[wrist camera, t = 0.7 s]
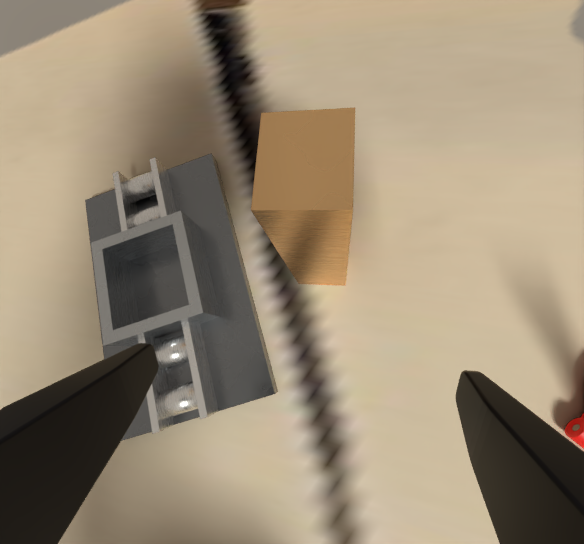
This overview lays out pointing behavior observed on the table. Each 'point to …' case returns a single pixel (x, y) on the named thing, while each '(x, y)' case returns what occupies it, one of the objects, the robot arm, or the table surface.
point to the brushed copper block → (307, 190)
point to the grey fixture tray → (177, 292)
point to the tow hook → (576, 430)
